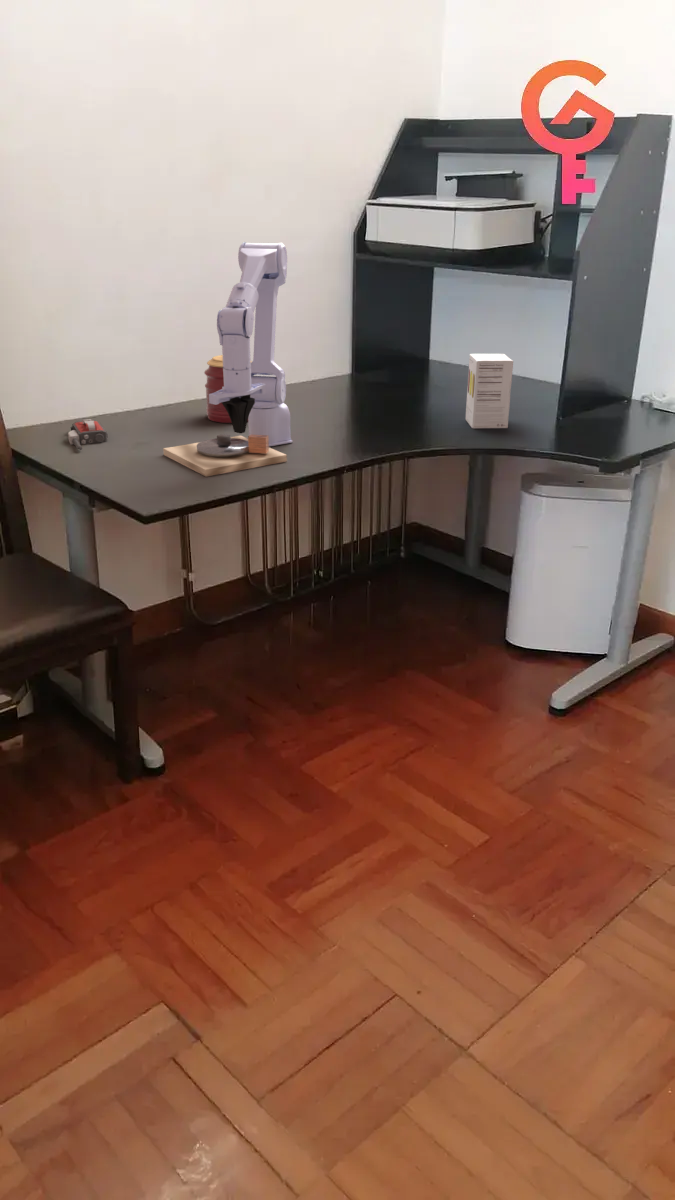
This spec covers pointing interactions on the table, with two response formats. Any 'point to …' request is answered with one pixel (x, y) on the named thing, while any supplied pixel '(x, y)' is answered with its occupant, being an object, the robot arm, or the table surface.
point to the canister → (215, 390)
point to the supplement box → (489, 390)
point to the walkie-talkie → (87, 433)
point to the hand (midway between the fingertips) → (239, 432)
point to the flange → (234, 446)
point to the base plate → (221, 458)
